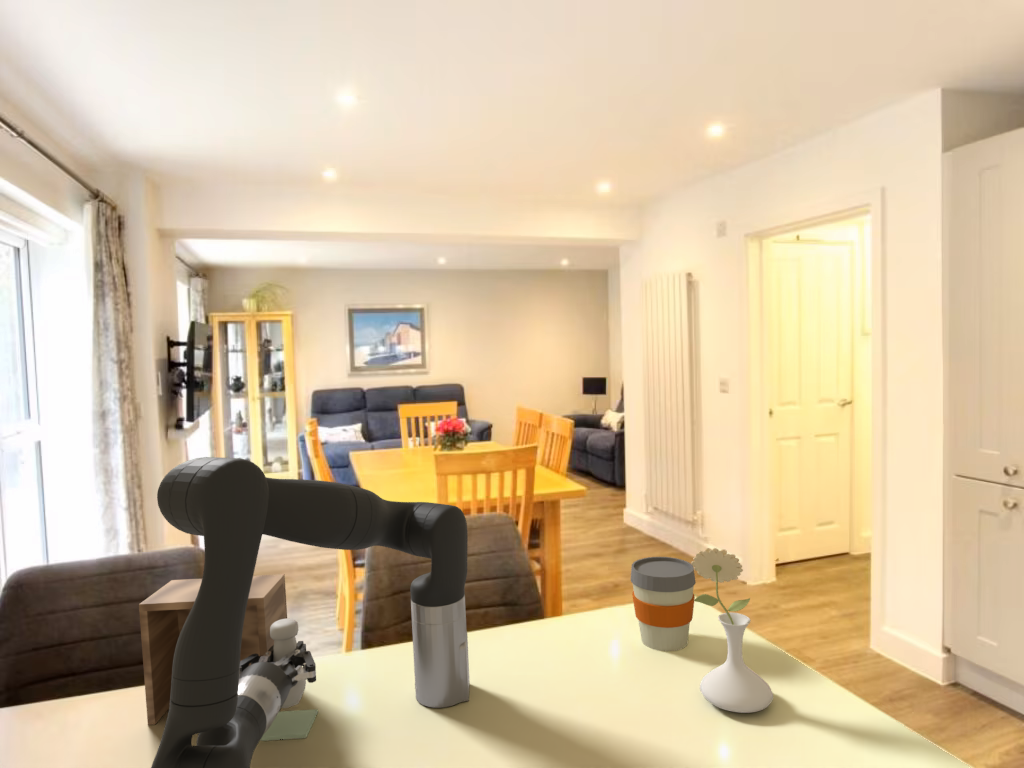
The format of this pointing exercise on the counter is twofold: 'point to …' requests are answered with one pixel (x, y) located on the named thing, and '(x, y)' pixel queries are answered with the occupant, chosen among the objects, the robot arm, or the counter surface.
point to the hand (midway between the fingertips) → (290, 647)
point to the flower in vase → (730, 643)
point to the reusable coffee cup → (663, 601)
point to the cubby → (168, 617)
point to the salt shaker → (283, 645)
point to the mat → (290, 725)
